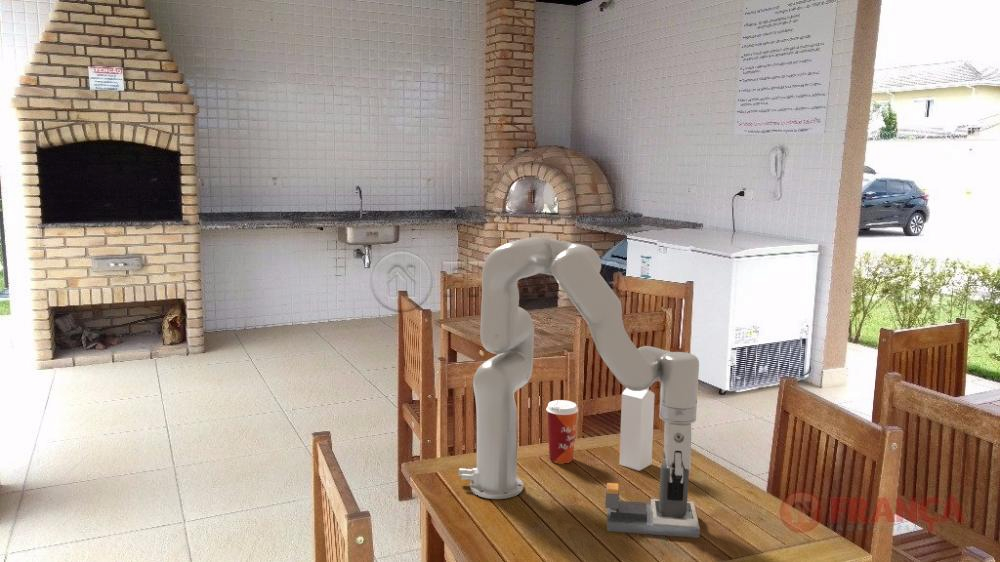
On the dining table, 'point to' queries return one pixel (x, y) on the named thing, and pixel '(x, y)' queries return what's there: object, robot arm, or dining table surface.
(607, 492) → the toggle
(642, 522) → the panel
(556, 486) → the dining table surface
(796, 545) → the dining table surface
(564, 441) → the coffee cup
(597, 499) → the dining table surface
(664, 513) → the bottle
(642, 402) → the milk
